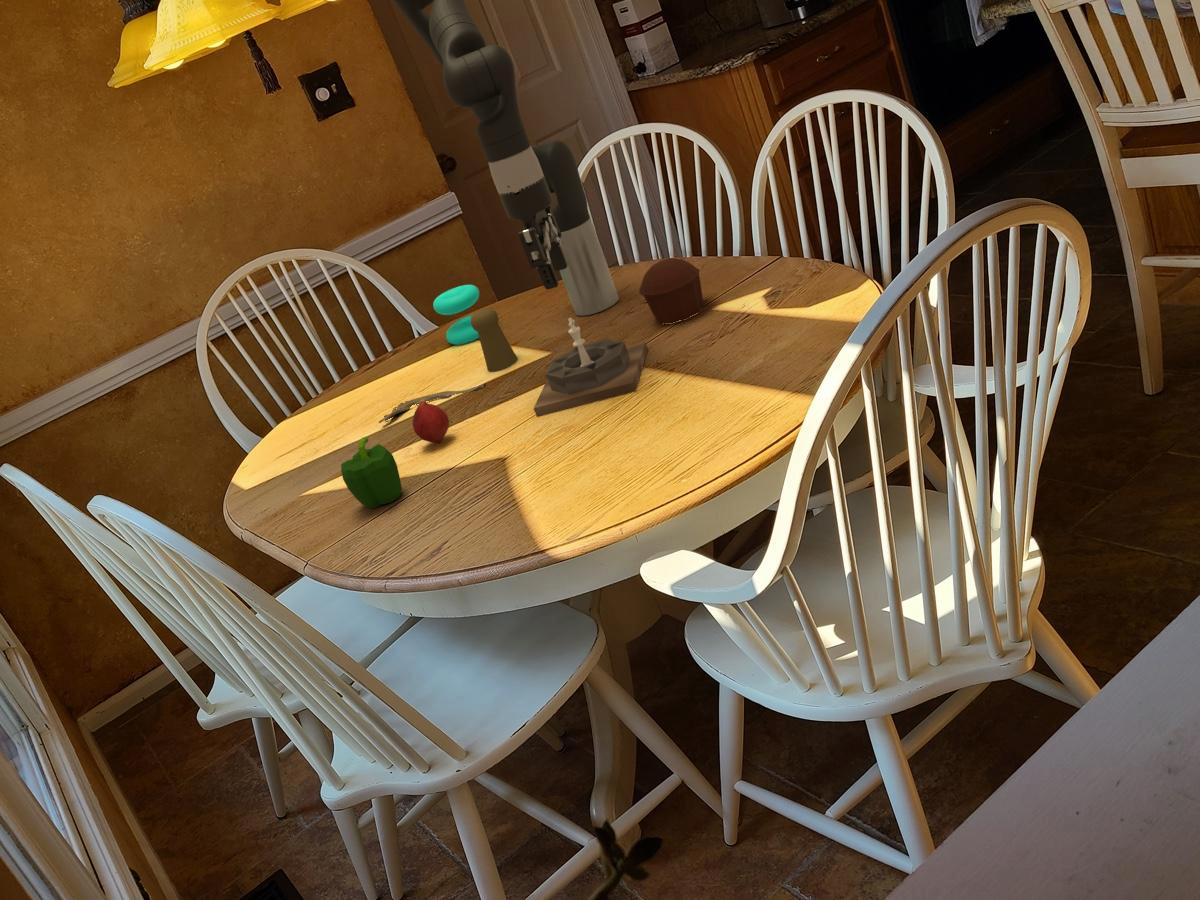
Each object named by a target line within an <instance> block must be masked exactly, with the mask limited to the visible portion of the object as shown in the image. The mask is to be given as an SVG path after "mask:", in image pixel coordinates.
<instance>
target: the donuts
mask: <svg viewBox="0 0 1200 900" xmlns="http://www.w3.org/2000/svg"><path fill="white" fill-rule="evenodd" d="M479 298H480V290H479V288H478V287H477V286H476V285H474V284H464V285H459V286H457V287H453V288H450V289H448V290H446V291H445V292H444V291H443V293H441V294H440V295H438V296H437V297H436V298H435V299H434V301H433V302H432V303H433V305H432V306H433V310H434V311H435V312H436V313H437V314H440V315H443V316H444V315H445V316H451V315H455V314H458V313H461V312H463V311H465V310H467V309H469V308H471V307H472V306H473V305H475V304H476V303H477V302H478V299H479ZM472 316H473V314H470V315H468V316H465V317H463V318H460V319H457V321H455V322H454V323H452V324H451V325H450V326H449V327H448V329H447V331H446V333H445V336H446V337H445V338H446V340H447V342H448V343H449V344H451V345H459V346H460V345H464V344H469V343H472V342H473V341H476V340H478V339H479V335H478V332H477V331H475V330H474V329H473V327H472V325H471V317H472Z"/></svg>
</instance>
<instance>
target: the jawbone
mask: <svg viewBox="0 0 1200 900" xmlns="http://www.w3.org/2000/svg"><path fill="white" fill-rule="evenodd" d="M486 385H487V384H486V383H483V384H481V385H478V386H474V387H471V388H468V389H463V390H462V389H461V390H447V391H446V390H445V391H440V392H436V393H432V394H428V395H423V396H421V397H417V398H413V399H410V400H406V401H404V402H405V403H403V402H400V403H399V404H398V405H396V406H398V407H396V406H395V407H393V409H392V410H391V413H388V414H385V415H383V418H382V419H380V420H379V421H378V424H381V423H383V422H384V421H385V422H386V420H388V419H390V418H392V417H393V416H394V415H395V416H396V415H397V414H400V413H403V412H406V410H407V411H409V410H408V409H410V407H411V406H412V405H415V404H416V405H417V404H419V403H420V401H421V400H423V399H424V400H426V401H430V400H433V399H437V398H441V399H445V397H448V398H450V397H453V396H456V395H460V393H461V394H465V393H471V392H473V391H478V390H482V389H485V387H486ZM455 394H456V395H455ZM452 395H453V396H452ZM433 401H434V400H433ZM430 402H431V401H430ZM396 408H397V409H396ZM410 410H411V409H410ZM395 416H394V417H395Z"/></svg>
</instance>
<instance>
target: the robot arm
mask: <svg viewBox="0 0 1200 900" xmlns="http://www.w3.org/2000/svg"><path fill="white" fill-rule="evenodd" d="M391 2H393V4H394V5H395V6H396V7H397V9H398V10H399V11H400V13H401V14H402V15H403V17H404V18H405V19H406V20H407V22H408V23H409V25H410V26H411V27H412V28H413V29H414V30H415V32H416V33H417V35H418V36H419V37H420V38H421V40H422V41H423V43H425V45H426V46H427V47H428V49H429V50H430V51H431V53H432V54H433V55H434V57H435V58H436V61H437V62H438V64H439V65H440V66H441V68H442V75H443V83H444V87H445V90H446V94H447V95H448V97H449V99H450V100H451V101H452V102H453V103H454V104H455V105H457V106H459V107H461V108H469V109H470V111H471V112H472V113H473V114H474V115H475V117H476V118H477V120H478V122H479V123H477V125H476V130H475V132H476V136H477V138H478V141H479V143H480V146H481V148H482V151H483V154H484V155H485V159H486V162H487V163H488V167H489V171H490V174H491V175H490V176H491V178H492V180H493V183H494V185H495V187H496V191H497V193H498V196H499V199H500V200H501V203H502V206H503V208H504V211H505V213H506V216H507V218H508V219H509V220H515V221H516V220H517V219H518V220H520V221H521V223H522V226H523V227H522V230H520V231H518V237H519V239H520V242H521V245H522V247H523V249H524V250H523V251H524V253H525V255H526V258H527V261H528V264H529V267H530V268H531V269H532V270H533V269H537V272H538V273H539V276H540V279H541V281H542V284H543V287H544V289H545V290H551V289H554V288H555V289H556V288H557V287H558V286H559V280H558V277H557V275H556V272H559V273H560V276H561V279H562V280H563V284H564V287H565V288H566V292H567V295H568V297H569V299H570V303H571V305H572V308H573V311H574V313H575V315H577V316H591V315H593V314H596V313H597V314H598V313H599V312H603V311H605V310H607V309H609V308H610V307H612V306H614V305H615V304H616V303H617V302H619V299H620V297H619V294H618V292H617V288H616V286H615V282H614V281H613V277H612V274H611V271H610V268H609V266H608V263H607V260H606V257H605V254H604V252H603V249H602V246H601V242H600V241H599V238H598V235H597V232H596V230H595V226H594V224H593V220H592V218H591V216H590V213H589V209H588V201H587V196H586V193H585V189H584V186H583V183H582V180H581V176H580V172H579V169H578V166H577V163H576V160H575V157H574V155H573V152H572V150H571V149H570V147H569V145H567V143H566V142H564V141H562V140H560V139H559V140H557V139H556V140H552V141H547V142H544V143H540V144H536V145H533V146H532V145H531V142H530V140H529V137H528V135H527V132H526V130H525V126H524V124H523V120H522V117H521V112H520V108H519V104H518V103H519V102H518V96H517V84H516V73H515V66H514V62H513V60H512V57H511V55H510V54H509V52H508V51H507V50H506V49H505V48H504V47H502V46H500V45H498V44H489V45H487V44H486V41H485V38H484V36H483V35H482V33H481V31H480V29H479V27H477V24H476V23H475V21H474V19H473V18H472V16H471V14H470V12H469V10H468V8H467V5H466V2H465V0H391ZM431 4H432V6H431V8H430V9H431V10H430V14H428V13H427V12H426V11H425V9H426V7H428V6H429V5H431ZM553 193H555V198H556V202H557V203H556V204H557V205H556V206H555V207H554V208H553V209H552V207H551V205H552V203H553V200H554V198H553V196H552V194H553ZM538 256H539V257H538ZM555 271H556V272H555Z"/></svg>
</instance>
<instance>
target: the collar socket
mask: <svg viewBox="0 0 1200 900" xmlns="http://www.w3.org/2000/svg"><path fill="white" fill-rule="evenodd" d="M583 346H584V348H585V350H586V352H587V354H588V356H589V358H590V359H591V361H594V362H592V363H591V364H588V365H585V366H581V365H582V364H581V359H580V355H579V351H578V347H577V346H574V348H572V349H570V350H568V351H566V352H565V353H563V354H561V355H560V356H558V357H556V358H554V359H553V360H551V362H550V363H549V365H548V368H547V370H546V372H545V377H546V381H545V384H544V385H543V387H542V390H541V391H540V393H539V396H538V398H537V400H536V402H535V404H534V405H533V411H534V413H535V415H536V417H541V416H544V415H547V414H551V413H555V411H556V412H558V411H559V410H560V411H563V410H566V409H571V408H575V407H579V406H582V405H587V404H591V403H594V401H595V402H598V400H599V401H602V400H606V399H609V398H614V397H618V396H621V395H626V394H629V392H630V393H633V391H634V392H636V391H637V388H638V385H637V384H639V381H640V377H641V374H642V371H641V370H643V368H644V364H645V361H644V360H646V358H645V357H647V354H648V351H649V348H648V345H647V343H646V341H642V342H637V343H635V344H630V345H626V343H625V341H621V340H616V339H609V338H605V339H601V340H600V339H599V340H597V341H593V342H589V343H586V344H585V343H584V344H583ZM647 350H648V351H647ZM643 363H644V364H643ZM580 366H581V367H580ZM642 367H643V368H642ZM590 402H591V403H590ZM586 403H587V404H586Z"/></svg>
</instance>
